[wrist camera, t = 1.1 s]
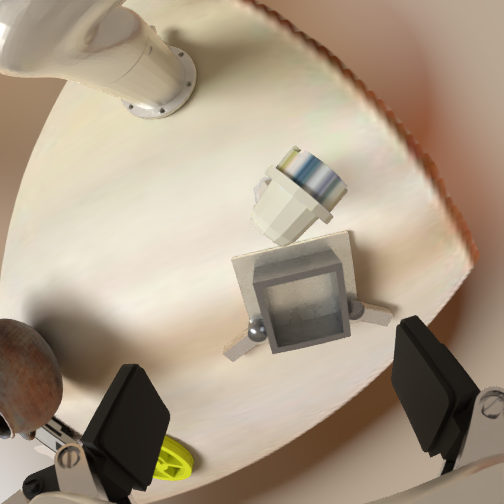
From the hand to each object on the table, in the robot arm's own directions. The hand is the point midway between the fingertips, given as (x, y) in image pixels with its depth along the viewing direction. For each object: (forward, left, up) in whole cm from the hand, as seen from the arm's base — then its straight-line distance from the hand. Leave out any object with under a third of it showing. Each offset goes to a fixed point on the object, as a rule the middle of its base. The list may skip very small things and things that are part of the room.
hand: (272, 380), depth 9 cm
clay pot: (+16, -60, -34) cm, 70 cm away
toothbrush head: (-4, +2, -34) cm, 34 cm away
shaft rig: (+13, +2, -33) cm, 36 cm away
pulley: (+57, -49, -34) cm, 82 cm away
